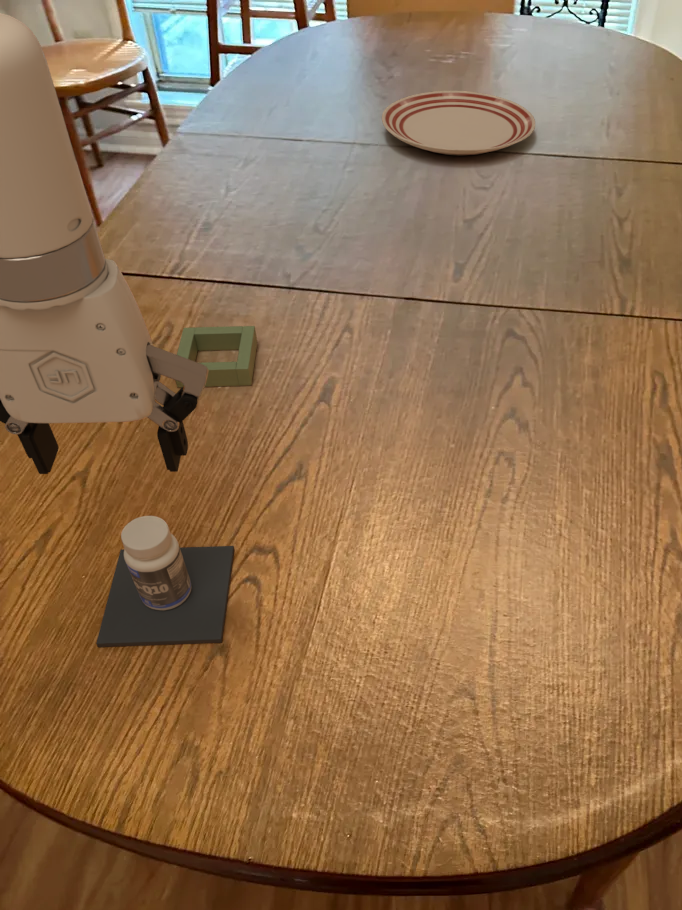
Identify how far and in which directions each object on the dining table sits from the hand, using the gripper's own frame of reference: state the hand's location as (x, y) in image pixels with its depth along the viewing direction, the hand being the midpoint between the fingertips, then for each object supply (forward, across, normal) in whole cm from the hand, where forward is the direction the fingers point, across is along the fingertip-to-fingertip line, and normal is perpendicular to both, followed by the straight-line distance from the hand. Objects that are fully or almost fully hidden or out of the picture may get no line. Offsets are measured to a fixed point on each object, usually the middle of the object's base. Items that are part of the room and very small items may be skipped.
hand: (113, 460), depth 61 cm
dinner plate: (+17, +37, +103) cm, 111 cm away
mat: (+17, +1, 0) cm, 17 cm away
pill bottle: (+17, +1, 0) cm, 17 cm away
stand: (+17, +1, +36) cm, 40 cm away
